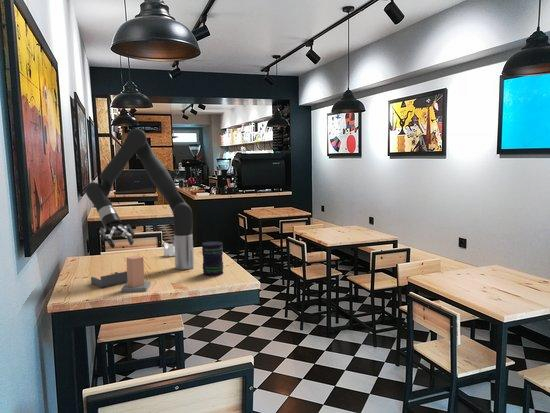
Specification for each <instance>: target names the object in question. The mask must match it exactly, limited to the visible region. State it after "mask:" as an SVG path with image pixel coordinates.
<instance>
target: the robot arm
mask: <svg viewBox="0 0 550 413" xmlns="http://www.w3.org/2000/svg"><path fill="white" fill-rule="evenodd" d="M134 155H136V156H137V158H138V159H139V160H140V162H141V164H142V166H143V168H144V170H145V172H146V174H147V175H148V177H149V179H150V181H151V182H152V184H153V185H154V186H155V188H156V189H157V191H158V192H159V193H160V195H162V197H163V198H164V199H165V201H166V202H167V204H168V205H169V207H170V208H169V209H170V210H171V213H172V216H173V238H174V239H173V248H174V249H175V256H174V265H175V266H174V267H175V269H176V270H189V269H194V267H195V255H194V252H195V251H194V240H193V237H194V236H193V229H194V228H193V224H194V223H193V210H192V208H191V207H190V206H191V205H189V204H188V203H187V202H186V200H185V199H184V198H183V197H182V196H181V194H180V192H179V191H178V188H177V185H176V184H175V181H174V180H173V178H172V176H171V174H170V172H169V171H168V170H167V168H166V166H165V165H164V163H163V162H162V160H160V158H158V157H157V155H156V154H155V153H154V151H153V150H152V148H151V146H150V144H149V142H148V138H147V135H146V132H145V131H144V130H142V129H140V128H133V129H131V130H130V131H128V133H127V135H126V138H125V140H124V142H123V143H122V145H121V147H120V148H119V150H118V152H117V153H116V154H115V155H114V156H113V157H112V159H111V160H110V161H109V162H108V163H107V165H106V166H105V167H104V169H103V170H102V172H101V173H100V174H99V178H100V180H101V183H100V184H99V183H98V182H93V181H92V182H89V183H88V184H87V185H86V187H85V194H86V196H87V197H88V199H89V200H90V202H91V203H92V204H93V206H94V207H95V209H96V212H97V214H98V218H99V220H100V221H101V223H102V226H103V227H100V228H99V230H98V234H99V237H100V239H101V241H102V242H107V244H108V245H109V247H110V248H111V249H114V248H116V247H115V246H116V244H115V241H114V240H113V238H112V237H114V238H115V237H122V238H126V239H127V242H128V243H129V246H133V245H134V242H135V241H134V239H133V237H134V236H135V231H134V229H133V228H132V227H131V225H130V224H127V225H123V224H122V221H121V218H120V216H119V214H118V212H117V210H116V209H115V207H114V206H113V204H112V202H111V200H110V198H108V196H109V195H110V193H111V191H112V188H113V185H114V182H116V180H117V179H118V178H119V176H120V175H121V174H122V172H123V170H124V169H125V167H126V166H127V163H129V161H130V159H131V158H132V157H133V156H134ZM106 233H107V234H108V236H107V234H106Z"/></svg>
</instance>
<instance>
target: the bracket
mask: <svg viewBox="0 0 550 413" xmlns="http://www.w3.org/2000/svg"><path fill="white" fill-rule="evenodd" d="M163 256H165V257H173V256H174V257H175V248H174V243H173V244H172V243H171V244H169V243H168V242H165V243H163Z"/></svg>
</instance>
